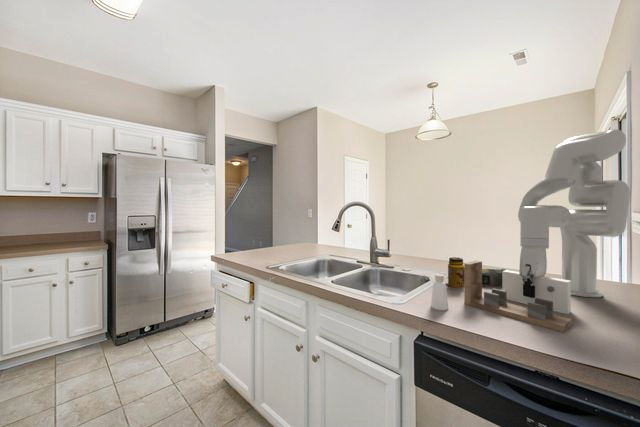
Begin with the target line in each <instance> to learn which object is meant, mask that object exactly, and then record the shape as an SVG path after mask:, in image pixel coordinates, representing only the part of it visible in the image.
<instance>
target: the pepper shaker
mask: <svg viewBox="0 0 640 427" xmlns="http://www.w3.org/2000/svg"><path fill="white" fill-rule="evenodd" d="M445 283H446V282H445V275H444V274H441V273H440V274H439V273H436V274H435V275H434V281H433V284H432V292H431V300H430V301H431V302H430V307H431V308H432V309H434V310H437V311H447V310H449V302H448V293H447V288H446V284H445Z"/></svg>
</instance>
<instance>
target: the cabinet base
mask: <svg viewBox="0 0 640 427" xmlns="http://www.w3.org/2000/svg"><path fill="white" fill-rule="evenodd" d="M463 265H464V295H463V296H464V298H463V299H464V301H463V302H464V305H468V306H472V307H475V308H478V309H481V310H485V311H488V312H491V313H494V314H498V315H502V316H506V317H509V318H512V319H516V320H519V321H522V322H527V323H529V324H532V325H537V326H540V327H543V328H546V329H550V330H554V331H557V332H560V333H564V332H565V331H567V330H568V329H569V328H571V326H572V325H573V319H572V318H568V317H565V316H561V315H557V314H554V311H553V302H552V301H548V300H543V299H539V298H535V303H533V302H528V304H527V307H525V306H521V305H517V304H514V303H511V302H507V300H508V299H507V291H503V290H502V289H500V288H499V289H497V288H495V287H493V288H491V292H490V291H483V285H482V269H483V261H481V260H473V261H469V262H466V263H464V262H463Z"/></svg>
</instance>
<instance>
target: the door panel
mask: <svg viewBox="0 0 640 427" xmlns="http://www.w3.org/2000/svg"><path fill="white" fill-rule="evenodd" d="M529 276H533V275H529ZM522 279H523V277H522V276H521V275H520V274H519V271H513V270H508V269H505V270H504V271H502V288H501V290H503V291H507V300H508V301H509V300H510V301H513V302H517V303H521V304H525V305H528V302H533V303H535V298H539V299H543V300H548V301H552V302H553V312H557V313H561V314H566V315H568V314H570V313H571V312H572V302H571V300H572V298H571V297H572V295H571V281H570V280H564V279H562V278H557V277H556V278H555V277H550V276H546V275H544V276H540V277H538V278H535V282H534V286H535V298H530V297H526V296H523V280H522ZM530 280H532V279H530Z"/></svg>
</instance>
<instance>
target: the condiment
mask: <svg viewBox="0 0 640 427" xmlns="http://www.w3.org/2000/svg"><path fill="white" fill-rule="evenodd" d="M448 260H449V261H448V264H447V282H444V283H445V284H446V289H454V290H464V259H463V258H461V257H455V256H454V257H453V256H452V257H449V258H448Z"/></svg>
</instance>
